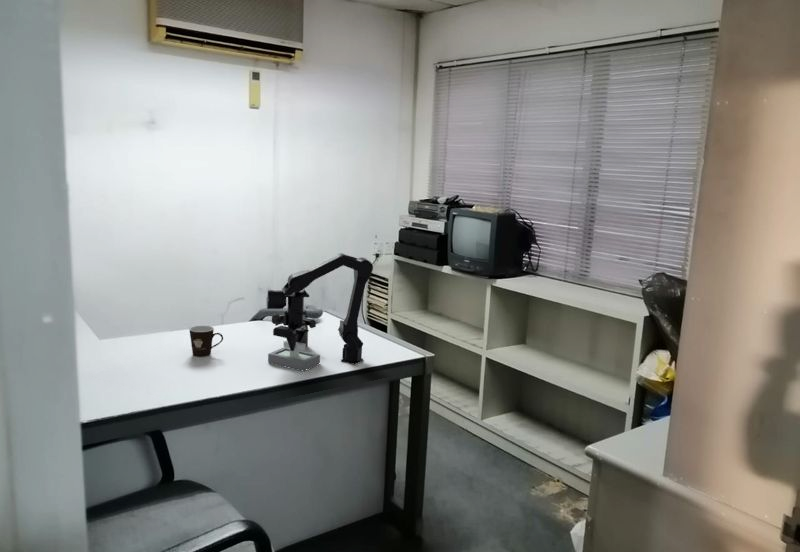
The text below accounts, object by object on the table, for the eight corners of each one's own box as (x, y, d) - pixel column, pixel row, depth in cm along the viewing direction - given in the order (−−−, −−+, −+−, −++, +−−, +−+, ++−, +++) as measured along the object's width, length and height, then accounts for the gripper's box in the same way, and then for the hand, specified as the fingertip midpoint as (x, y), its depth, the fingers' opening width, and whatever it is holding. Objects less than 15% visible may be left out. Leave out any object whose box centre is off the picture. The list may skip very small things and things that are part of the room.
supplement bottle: (309, 345, 245) (310, 316, 243) (305, 350, 238) (306, 320, 236) (292, 343, 245) (293, 315, 243) (288, 348, 239) (288, 319, 237)
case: (319, 363, 224) (320, 354, 223) (304, 371, 215) (304, 362, 214) (284, 355, 230) (284, 346, 230) (268, 362, 222) (268, 353, 221)
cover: (312, 359, 222) (312, 343, 221) (302, 363, 217) (303, 347, 216) (285, 353, 227) (286, 337, 226) (275, 357, 222) (276, 341, 221)
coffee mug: (184, 355, 224) (184, 329, 222) (201, 349, 232) (201, 324, 230) (207, 361, 219) (207, 334, 217) (224, 355, 227) (224, 329, 225)
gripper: (292, 300, 230) (291, 339, 233) (261, 310, 214) (260, 352, 217) (317, 305, 226) (315, 345, 228) (286, 315, 209) (285, 358, 212)
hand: (294, 349), depth 222 cm, fingers closed on cover, 2 cm apart
